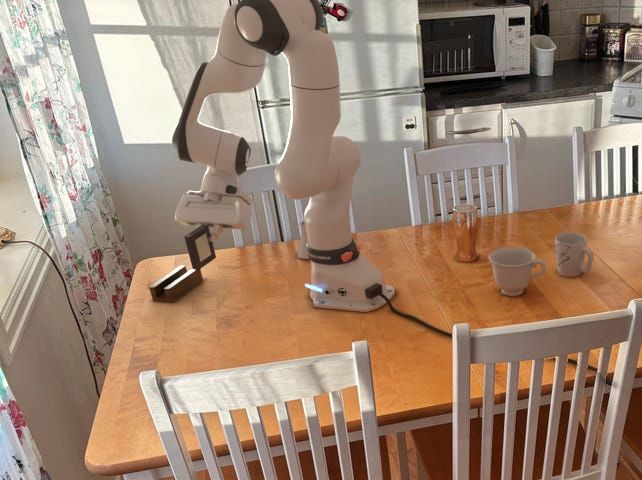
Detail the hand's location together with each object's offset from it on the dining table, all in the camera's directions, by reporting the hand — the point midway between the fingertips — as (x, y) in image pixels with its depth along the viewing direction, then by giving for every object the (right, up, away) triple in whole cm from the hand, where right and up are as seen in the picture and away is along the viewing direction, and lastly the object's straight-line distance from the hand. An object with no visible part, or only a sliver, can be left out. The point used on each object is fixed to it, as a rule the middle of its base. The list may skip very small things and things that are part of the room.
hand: (205, 241), depth 188 cm
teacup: (+81, -13, +1) cm, 82 cm away
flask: (+21, 0, +26) cm, 33 cm away
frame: (-1, -6, 0) cm, 6 cm away
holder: (-10, -12, +7) cm, 17 cm away
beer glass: (+67, -1, +21) cm, 70 cm away
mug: (+97, -7, +10) cm, 97 cm away
